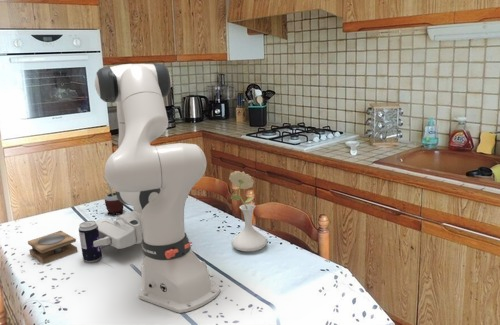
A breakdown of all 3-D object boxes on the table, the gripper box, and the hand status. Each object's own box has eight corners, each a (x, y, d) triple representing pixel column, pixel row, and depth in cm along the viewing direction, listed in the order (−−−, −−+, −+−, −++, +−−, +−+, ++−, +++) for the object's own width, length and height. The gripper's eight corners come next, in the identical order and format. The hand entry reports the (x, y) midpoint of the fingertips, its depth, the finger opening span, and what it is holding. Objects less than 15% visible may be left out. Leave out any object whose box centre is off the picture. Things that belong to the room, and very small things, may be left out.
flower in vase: (274, 245, 145) (271, 170, 139) (250, 258, 137) (246, 179, 131) (245, 235, 154) (241, 164, 148) (221, 247, 146) (215, 172, 140)
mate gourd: (121, 216, 178) (117, 180, 174) (102, 217, 178) (96, 180, 174) (127, 209, 185) (122, 174, 181) (108, 210, 185) (103, 175, 182)
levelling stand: (77, 251, 148) (75, 237, 147) (43, 264, 141) (41, 249, 139) (62, 242, 156) (60, 229, 154) (30, 254, 148) (27, 240, 147)
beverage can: (96, 264, 139) (91, 227, 136) (79, 263, 140) (74, 227, 137) (105, 255, 144) (100, 220, 141) (89, 254, 145) (84, 220, 142)
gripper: (109, 211, 156) (70, 223, 146) (142, 225, 142) (102, 240, 132) (112, 228, 157) (73, 241, 148) (145, 243, 143) (105, 259, 134)
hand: (87, 241), depth 140 cm, fingers closed on beverage can, 6 cm apart
